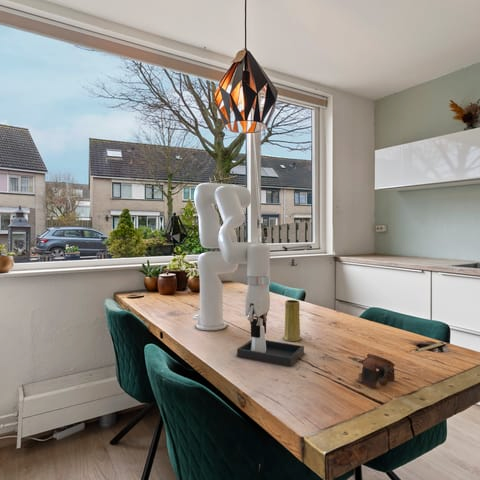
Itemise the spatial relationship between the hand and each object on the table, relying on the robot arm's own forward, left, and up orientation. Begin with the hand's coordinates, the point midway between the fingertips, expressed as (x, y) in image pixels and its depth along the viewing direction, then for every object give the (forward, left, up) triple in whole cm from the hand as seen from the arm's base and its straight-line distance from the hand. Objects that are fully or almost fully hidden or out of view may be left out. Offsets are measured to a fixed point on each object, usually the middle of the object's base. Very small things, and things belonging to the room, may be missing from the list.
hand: (258, 334), depth 121 cm
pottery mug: (+39, -6, -6) cm, 40 cm away
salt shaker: (0, 0, -6) cm, 6 cm away
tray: (+4, 0, -6) cm, 8 cm away
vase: (+5, +19, -6) cm, 21 cm away
